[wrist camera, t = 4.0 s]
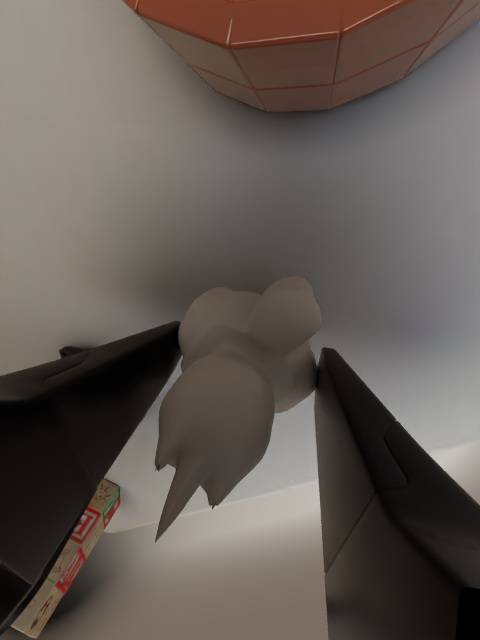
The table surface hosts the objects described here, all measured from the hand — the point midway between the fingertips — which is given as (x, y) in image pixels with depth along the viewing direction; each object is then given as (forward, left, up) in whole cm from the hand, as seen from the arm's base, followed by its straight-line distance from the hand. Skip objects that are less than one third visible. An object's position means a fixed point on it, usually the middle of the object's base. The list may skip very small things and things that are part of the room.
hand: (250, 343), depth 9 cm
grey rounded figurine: (0, 0, -2) cm, 2 cm away
